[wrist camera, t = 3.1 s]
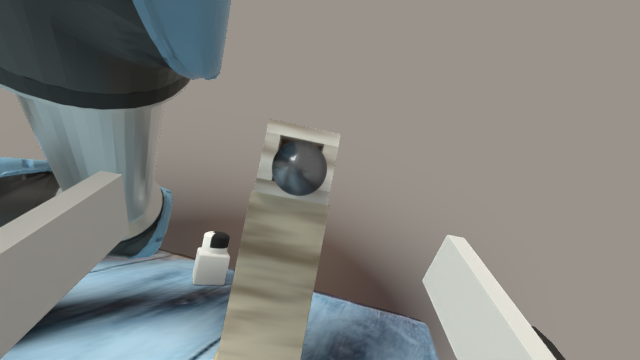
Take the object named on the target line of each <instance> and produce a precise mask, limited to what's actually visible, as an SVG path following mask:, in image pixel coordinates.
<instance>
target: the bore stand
mask: <svg viewBox="0 0 640 360" xmlns="http://www.w3.org/2000/svg"><path fill="white" fill-rule="evenodd" d="M340 135H341V134H337V133H333V132H328V131H323V130H319V129H314V128H310V127H305V126H301V125H296V124H292V123H286V122H283V121H278V120H273V119H269V121H268V126H267V131H266V136H265V141H264V146H263V150H262V155H261V160H260V165H259V170H258V174H257V179H256V184H255V189H254V191H251V196H250V201H249V206H248V210H247V215H246V220H245V225H244V230H243V235H242V239H241V244H240V249H239V254H238V259H237V264H236V268H235V273H234V278H233V283H232V287H231V292H230V297H229V302H228V307H227V311H226V316H225V321H224V326H223V331H222V335H221V340H220V345H219V348H218V350H217V352H216V354H215V356H214V359H213V360H300V359H301V353H302V348H303V343H304V338H305V332H306V327H307V322H308V316H309V311H310V306H311V300H312V295H313V290H314V284H315V279H316V274H317V268H318V263H319V258H320V253H321V247H322V242H323V237H324V231H325V226H326V221H327V215H328V210H329V205H327V204H328V198H329V193H330V188H331V183H332V178H333V172H334V167H335V161H336V156H337V151H338V146H339V140H340ZM293 141H306V142H309V143H311V144H313V145H315V146H316V147H318V148H319V149H320V150H321V152H322V153H323V155H324V157H325V159H326V163H327V174H326V178H325V180H324V182H323V184H322V185H321V186H320V187H319V188H318V189H317V190H316V191H315V192H313V193H311V194H309V195H305V196H294V195H291V194H288V193H286V192H284V191H283V190H282V189H281V188H280V187H279V186H278V185H277V184H276V182H275V180H274V178H273V175H272V162H273V159H274V156H275V154H276V153H277V151H278V150H279V149H280V148H281V147H282V146H284V145H285V144H287V143H290V142H293Z"/></svg>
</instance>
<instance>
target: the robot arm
mask: <svg viewBox="0 0 640 360" xmlns="http://www.w3.org/2000/svg"><path fill="white" fill-rule="evenodd" d="M230 5H231V0H0V87H2V88H4V89H6V90H9V91H11V92H13V93H14V94H15V96H16V98H17V100H18V102H19V104H20V106H21V108H22V110H23V112H24V114H25V116H26V118H27V120H28V122H29V124H30V126H31V128H32V131H33V133H34V135H35V136H36V139H37V141H38V143H39V145H40V147H41V149H42V151H43V153H44V155H45V157H46V159H47V161H45V160H33V159H19V158H4V157H0V359H1V358H2V357H3V356H4V355H5V354H6V353H7V352H8V351H9V350H10V349H11V348H12V347H13V346H14V345H15V344H16V343H17V342H18V341H19V340H20V339H21V338H22V337H23V336H24V335H25V334H26V333H27V332H28V331H30V330H31V329H32V328H33V327H34V326H35V325H36V324H37V323H38V322H39V321H40V320H41V319H42V318H43V317H44V316H45V315H46V314H47V313H48V312H49V311H50V310H51V309H52V308H53V307H54V306H55V305H56V304H57V303H58V302H59V301H60V300H61V299H62V298H63V297H64V296H65V295H66V294H67V293H68V292H69V291H70V290H71V289H72V288H73V287H74V286H75V285H76V284H77V283H78V282H79V281H80V280H81V279H83V278H84V277H85V276H86V275H87V274H88V273H89V272H90V271H91V270H92V269H93V268H94V267H95V266H96V265H97V264H98V263H99V262H100V261H101V260H102V259H103V258H104V257H125V258H128V259H134V258H143V257H150V256H152V255H154V254H155V253H156V252H157V250H158V249H159V247H160V245H161V243H162V240H163V236H164V235H165V233H166V230H167V226H168V223H169V219H170V214H171V210H172V203H173V196H172V193H171V191H170V190H168V189H164V188H163V187H160V186H159V185H158V184H157V182H156V181H155V180H154V173H155V166H156V159H157V152H158V145H159V138H160V131H161V123H162V117H163V109H164V103H165V102H167V101H169V100H171V99H173V98H174V97H176V96H177V95H179V94H180V93H181V92H182V91H183V90H184V89H185V88H186V86H187V85H188V84H189V82H190V81H191V79H192V80H194V79H199V78H204V79H206V80H210V79H215V78H216V77H217V76H218V75H219V74H220V70H221V64H222V57H223V51H224V45H225V39H226V32H227V25H228V18H229V11H230ZM423 283H424V286H425V288H426V290H427V292H428V295H429V297H430V299H431V301H432V304H433V306H434V308H435V311H436V313H437V315H438V317H439V320H440V322H441V324H442V326H443V329H444V331H445V333H446V335H447V338H448V340H449V342H450V344H451V347H452V349H453V351H454V354H455V356H456V358H457V360H565V359H564V357H563V356H562V355H561V353H560V352H559V351H558V350H557V348H556V347H555V346H554V345H553V343H552V342H551V341H549V340H548V339H547V338H546V337H545V336H544V335H543V334H542V333H541V332H540V331H538V329H536V328H535V327H533V326H530V324H529V323H528V322H527V320H526V319H525V318H524V316H523V315H522V314H521V312H520V311H519V310H518V308H517V307H516V306H515V304H514V303H513V302H512V300H511V299H510V298H509V297H508V295H507V294H506V293H505V291H504V290H503V289H502V287H501V286H500V285H499V283H498V282H497V281H496V279H495V278H494V277H493V275H492V274H491V273H490V272H489V270H488V269H487V268H486V266H485V265H484V264H483V262H482V261H481V260H480V258H479V257H478V256H477V255H476V253H475V252H474V250H473V249H472V248H471V246H470V245H469V244H468V243H467V241H466V240H465V238H462V237H456V236H451V235H447V236H446V238H445V240H444V242H443V244H442V246H441V248H440V249H439V251H438V253H437V255H436V257H435V258H434V260H433V262H432V264H431V266H430V267H429V269H428V271H427V273H426V275H425V277H424V278H423Z"/></svg>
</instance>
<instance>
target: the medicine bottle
mask: <svg viewBox="0 0 640 360" xmlns="http://www.w3.org/2000/svg"><path fill="white" fill-rule="evenodd" d="M229 238H230V237H229V235H227V234H226V233H223V232H216V231H210V232H207V233H205V235H204V240H203V244H202V248H198V250H197V255H196V260H195V264H194V269H193V273H192V275H193V284H194V285H224V284H225V279H226V275H227V270H228V265H229V260H230V256H229V254H228V252H227V251H226V250H227V247H228V243H229Z"/></svg>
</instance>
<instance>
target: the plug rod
mask: <svg viewBox="0 0 640 360" xmlns="http://www.w3.org/2000/svg"><path fill="white" fill-rule="evenodd" d="M326 174H327V163H326V159H325V157H324V155H323V153H322V152H321V150H320V149H319V148H318V147H316V146H315V145H313V144H311V143H309V142H306V141H293V142H290V143H287V144H285V145H284V146H282V147H281V148H280V149H279V150H278V151H277V153H276V154H275V156H274V159H273V162H272V175H273V178H274V180H275V182H276V184H277V185H278V186H279V187H280V188H281V189H282V190H283V191H284V192H286V193H288V194H291V195H294V196H305V195H309V194H311V193H313V192H315V191H316V190H317V189H318V188H319V187H320V186H321V185H322V184H323V182H324V180H325V178H326Z"/></svg>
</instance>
